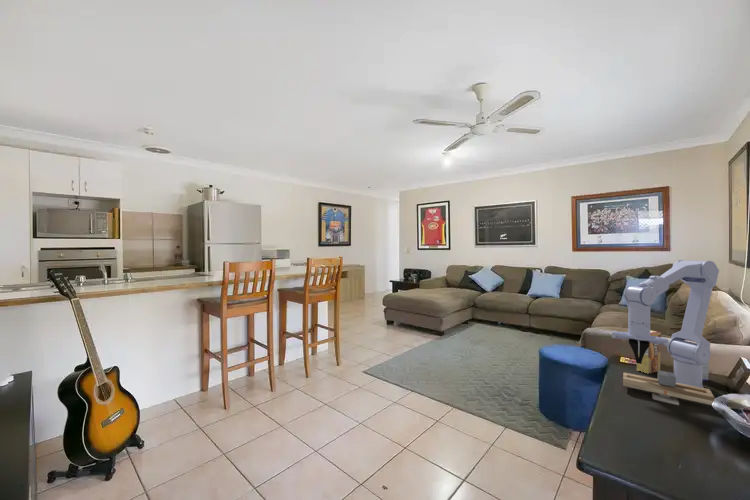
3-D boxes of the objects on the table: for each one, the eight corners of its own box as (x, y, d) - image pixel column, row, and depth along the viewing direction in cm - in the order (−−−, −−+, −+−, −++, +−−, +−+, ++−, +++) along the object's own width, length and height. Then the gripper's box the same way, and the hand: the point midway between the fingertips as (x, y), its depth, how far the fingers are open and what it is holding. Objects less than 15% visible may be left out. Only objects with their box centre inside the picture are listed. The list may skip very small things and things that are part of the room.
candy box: (647, 367, 129) (648, 329, 129) (660, 371, 125) (661, 332, 125) (636, 370, 125) (636, 331, 125) (649, 374, 122) (649, 334, 122)
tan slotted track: (623, 383, 113) (623, 371, 113) (708, 402, 99) (708, 388, 99) (622, 392, 106) (623, 379, 106) (714, 413, 92) (714, 398, 92)
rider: (657, 382, 105) (657, 370, 105) (673, 385, 103) (674, 373, 103) (658, 387, 101) (658, 374, 102) (675, 390, 99) (675, 377, 99)
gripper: (611, 321, 109) (611, 360, 109) (669, 328, 100) (669, 371, 100) (612, 317, 114) (612, 355, 114) (667, 324, 105) (667, 365, 105)
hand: (638, 362), depth 107 cm, fingers closed
